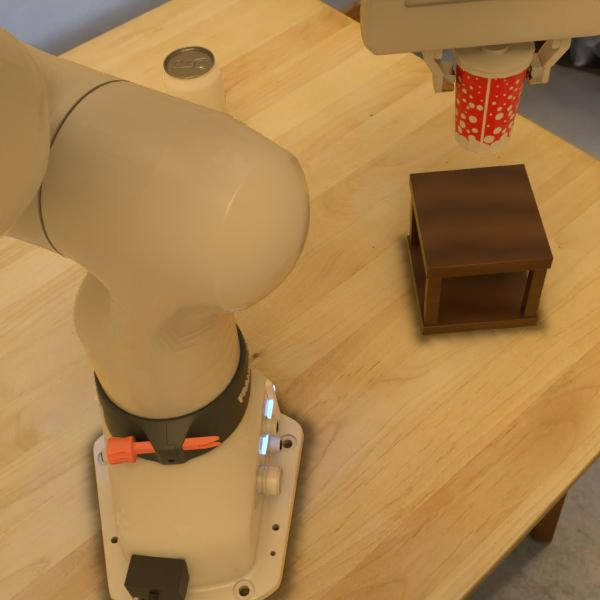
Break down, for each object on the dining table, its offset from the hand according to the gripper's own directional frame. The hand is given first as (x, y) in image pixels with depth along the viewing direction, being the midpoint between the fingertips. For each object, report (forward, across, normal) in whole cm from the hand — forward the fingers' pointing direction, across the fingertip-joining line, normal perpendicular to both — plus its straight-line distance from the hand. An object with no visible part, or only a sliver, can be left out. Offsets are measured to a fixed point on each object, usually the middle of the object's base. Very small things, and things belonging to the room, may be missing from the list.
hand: (489, 83), depth 67 cm
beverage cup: (+6, 0, 0) cm, 6 cm away
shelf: (+24, 0, 0) cm, 24 cm away
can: (+24, -27, +24) cm, 43 cm away
